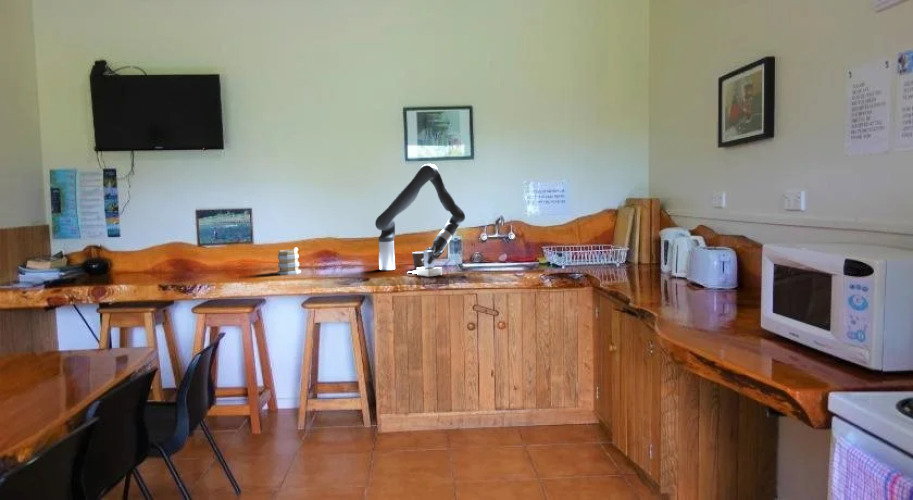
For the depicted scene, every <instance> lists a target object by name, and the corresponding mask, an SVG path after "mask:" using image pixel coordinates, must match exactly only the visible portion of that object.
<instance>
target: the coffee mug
mask: <svg viewBox="0 0 913 500" xmlns="http://www.w3.org/2000/svg"><path fill="white" fill-rule="evenodd" d="M423 260H424V251H415V252H412V261H413V262H412V263H413V267H414V270H417V268H419V267H424V263H423V262H422V261H423Z"/></svg>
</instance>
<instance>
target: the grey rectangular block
mask: <svg viewBox="0 0 913 500" xmlns="http://www.w3.org/2000/svg"><path fill="white" fill-rule="evenodd" d="M423 252H424V268H427V269H429V268H435V259H434V260H433V261H432V263H431V264H428V263H427V261H428V260H429V259H430V257H431V256H432V254H433V251H426V250H423Z"/></svg>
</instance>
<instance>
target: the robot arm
mask: <svg viewBox="0 0 913 500" xmlns="http://www.w3.org/2000/svg"><path fill="white" fill-rule="evenodd" d="M429 181H430V183H431V184H432V186H433V187H434V189H435V191H436V194H437V197H438V199H439V201H440V203H441V205H442V206H443V208H444V209H445V211H446V212H449V213H450V214H451V216H450V217H449V219H447V222H446V223H445V225H444V226H443V228H442V229H441V230H440V231H439V232H438V234H437V236H436V237H435V238H434V239H433V241H432V246H430V247H429V246H428V247H426V250H425V251H433V254H432V256H431V257H430V259H429V260H428V261H427V263H428V264H431V263H432V261H433V260H434V261H435V260H436V259H439V258H440V257H441V255H442V254H444V253H445V248H446V247H447V246H448V244H449V242H450V241H451V239H452V238H453V236H454V235H455V233H456V231H457V229H458V227H459V226H460V225H461V224H462V223H463V222H464V221H465V219H466V214H465V212H464V210H462V208H461V207H460V206H459V205H458V204H457V203H456V202H455V200H454V198H453V196H452V195H451V194H450V192H449V190H448V188H447V186H446V185H445V182H444V180H443V178H442V176H441V174H440V171H439V169H438V167H437V166H436V165H435V164H431V163H427V164H424V165H422V166H421V167H420V168H419V170H418V171H417V173H416V174H415V175H414V177H413V178H412V179H411V180H410V182H409V183H408V184H406V186H405V187H404V188H403V189H402V190H401V191H400V193H399V194H398V195H397V196H396V198H395V199H394V200H392V201H391V203H390V204H389V205H388V207H387V208H386V209H385V210H384V211H383V212H382V213H380V215H378V217H377V218H376V219H375V223H374V224H375V227H376V229H377V230H379V231H381V233H380V236H378V250H379V251H378V252H379V253H378V266H379V267H378V268H379V270H380V271H393V270H396V262H395V261H396V260H395V259H396V258H395V237H396V222H395V218H396V217H397V216H398V215H399V214H401V213H402V212H404V211H405V210H407V209H408V208H409V207H410V206H411V205H412V204H413V202H414V201H416V199H417V197H418V195H419V193H420V191H421V189H422V188H423V187H424V186H425V185H426V184H427V183H429ZM422 262H423V263H424V260H423V261H422Z"/></svg>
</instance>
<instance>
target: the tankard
mask: <svg viewBox="0 0 913 500" xmlns="http://www.w3.org/2000/svg"><path fill="white" fill-rule="evenodd" d="M298 251H299V248H298V247H297V246H295V247H294V248H293V249H283V250H278V254H277V260H279V261H278V264H277V265H278V266H277V267H278V268H279V270H277V272H276V273H277V275H279V274H280V275H279V276H292V275H298V274H301V273H302V270H301V269H300V268H299V266H300V262H299V258H300V256H299V253H298ZM291 274H292V275H291Z"/></svg>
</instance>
